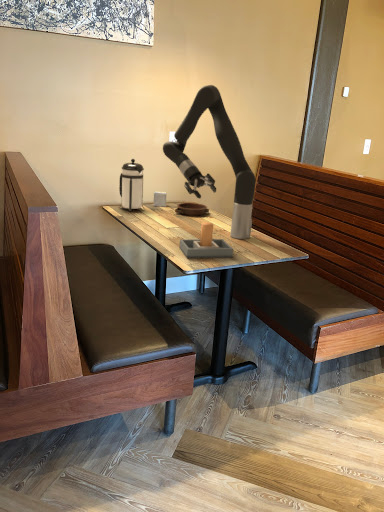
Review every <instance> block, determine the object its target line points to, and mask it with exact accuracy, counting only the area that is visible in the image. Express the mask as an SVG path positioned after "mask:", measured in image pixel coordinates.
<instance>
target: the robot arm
mask: <svg viewBox="0 0 384 512" xmlns="http://www.w3.org/2000/svg"><path fill="white" fill-rule="evenodd" d="M206 110H208V111H209V113H210V115H211V117H212V120H213V128H214V133H215V137H216V140H217V143H218V144H219V146H220V148H221V150H222V153H223V154H224V155H225V157H226V159H227V160H228V161H229V163H230V165H231V168H232V171H233V174H234V176H235V185H234V186H235V187H234V197H233V206H232V208H233V209H232V216H231V226H230V234H229V235H230V237H231V238H233V239H237V240H247V239H251V235H252V234H251V233H252V226H253V225H252V224H253V219H252V214H253V212H252V211H253V205H254V204H253V201H254V197H255V189H256V188H255V187H256V175H255V174H254V172H253V170H252V169H251V167H250V165H249V164H248V161H247V160H246V157H245V155H244V150H243V147H242V144H241V142H240V139H239V137H238V135H237V132H236V129H235V128H234V126H233V124H232V122H231V119H230V116H229V115H228V112H227V109H226V108H225V105H224V102H223V99H222V95H221V92H220V90H219V89H218V87H216V86H215V85H213V84H207V85H203V86H202V87H200V88H199V89H198V90H197V92H196V94H195V97H194V98H193V101H192V104H191V106H190V107H189V109H188V112H187V114H186V115H185V117H184V118H183V120H182V121H181V122H180V124H179V126H178V128H177V129H176V130H175V133H174V136H173V137H174V138H175V140H176V141H169V140H168V141H165V142H164V143H163V145H162V151H163V154H164V155H165V156H166V158H168V159H169V160H170V161H171V162H172V163H174V164H175V165H176V167H177V168H178V169H179V171H180V173H181V174H182V176H183V177H184V178H185V179H186V181H185V182H184V188H185V189H186V191H187V193H188V194H189V195H192V194H193V195H195V197H196V198H197V199H199V200H200V199H202V195H201V193H200V192H199V191H198V190H197V188H199V189H200V188H201V187H208V188H210V189H211V191H212V192H213V193H214V194H215V193H216V192H217V187H216V186H215V183H216V180H215V178H213V176H212V175H211V174H210V173H206V175H203V173H202V172H201V170H200V169H199V168H198V167H197V166H196V164H195V163H194V162H193V161H192V160H191V159H190V158H189V156H188V155H187V154H186V153H184V151H185V150H186V149H185V148H186V145H187V142H188V141H189V139H190V137H191V136H192V134H193V133H194V131H195V129H196V127H197V125H198V123H199V120H200V118H201V117H202V115H203V114H204V113H205V112H206ZM192 187H193V189H192Z"/></svg>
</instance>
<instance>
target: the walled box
mask: <svg viewBox="0 0 384 512" xmlns="http://www.w3.org/2000/svg"><path fill="white" fill-rule="evenodd" d="M200 239H201V238H200ZM200 239H199V238H197V239H195V238H194V239H193V238H191V239H186V238H185V239H179V250H180V251H181V252H182V254H183V255H184V257H185V258H186V259H226V258H227V259H228V258H229V259H230V258H231V259H232V258H233V255H234V248H233V247H232V246H231V245H230V244H229V243H228V242H227V241H225V239H223V238H218V239H217V238H215V239H213V238H212V246H208V247H200Z"/></svg>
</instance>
